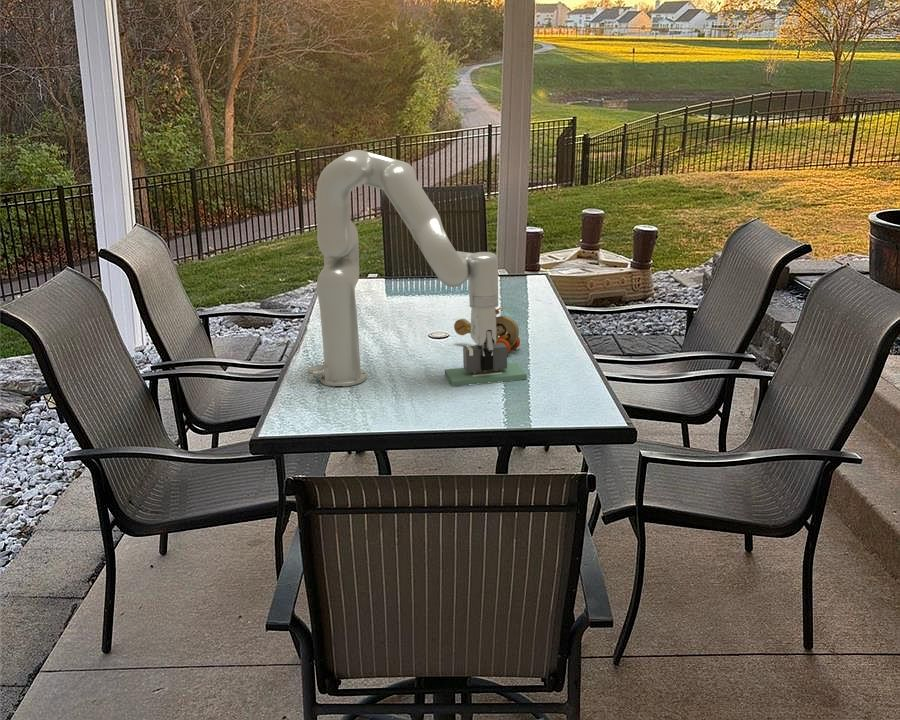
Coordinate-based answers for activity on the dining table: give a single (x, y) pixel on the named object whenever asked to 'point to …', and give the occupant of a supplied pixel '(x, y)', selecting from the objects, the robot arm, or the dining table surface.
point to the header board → (484, 375)
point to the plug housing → (475, 352)
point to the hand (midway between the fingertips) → (484, 366)
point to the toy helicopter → (506, 325)
